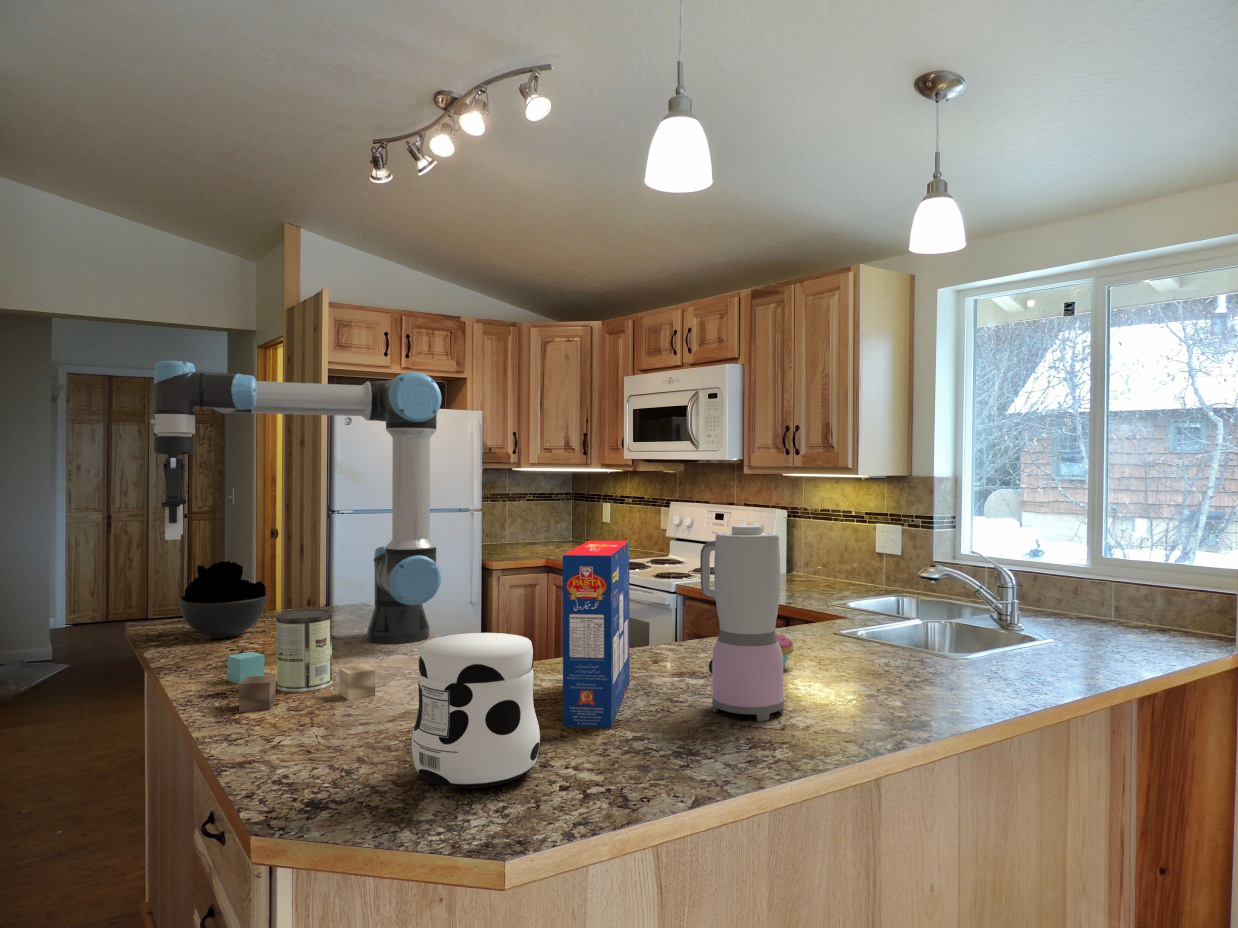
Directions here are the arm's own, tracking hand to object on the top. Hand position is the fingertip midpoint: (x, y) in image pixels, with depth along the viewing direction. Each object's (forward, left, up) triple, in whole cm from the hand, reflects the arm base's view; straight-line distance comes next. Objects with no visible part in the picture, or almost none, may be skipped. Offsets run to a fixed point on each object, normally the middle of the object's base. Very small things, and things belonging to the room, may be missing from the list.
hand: (174, 537), depth 173 cm
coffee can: (-23, +25, -28) cm, 44 cm away
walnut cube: (-14, +37, -28) cm, 48 cm away
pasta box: (-69, +62, -28) cm, 97 cm away
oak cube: (-31, +37, -28) cm, 56 cm away
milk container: (-39, +86, -28) cm, 98 cm away
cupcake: (-113, +55, -28) cm, 129 cm away
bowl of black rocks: (-10, -34, -28) cm, 46 cm away
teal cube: (-13, +15, -28) cm, 34 cm away
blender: (-89, +77, -28) cm, 121 cm away
